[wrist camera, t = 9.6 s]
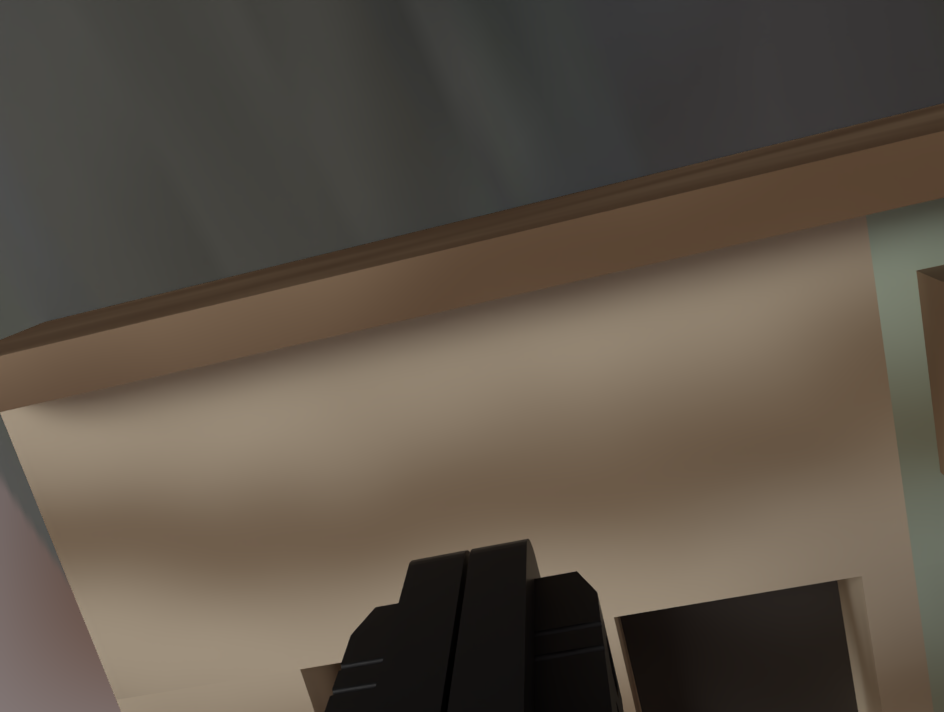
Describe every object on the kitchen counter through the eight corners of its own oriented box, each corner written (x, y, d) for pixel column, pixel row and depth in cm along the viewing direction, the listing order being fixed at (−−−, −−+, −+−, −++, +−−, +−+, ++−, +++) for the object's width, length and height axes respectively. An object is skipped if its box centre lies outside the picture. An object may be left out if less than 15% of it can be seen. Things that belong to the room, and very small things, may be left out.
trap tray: (44, 322, 20) (-96, 378, 16) (1163, 49, 16) (1379, 26, 12) (235, 826, 24) (163, 985, 19) (1195, 693, 20) (1372, 852, 16)
